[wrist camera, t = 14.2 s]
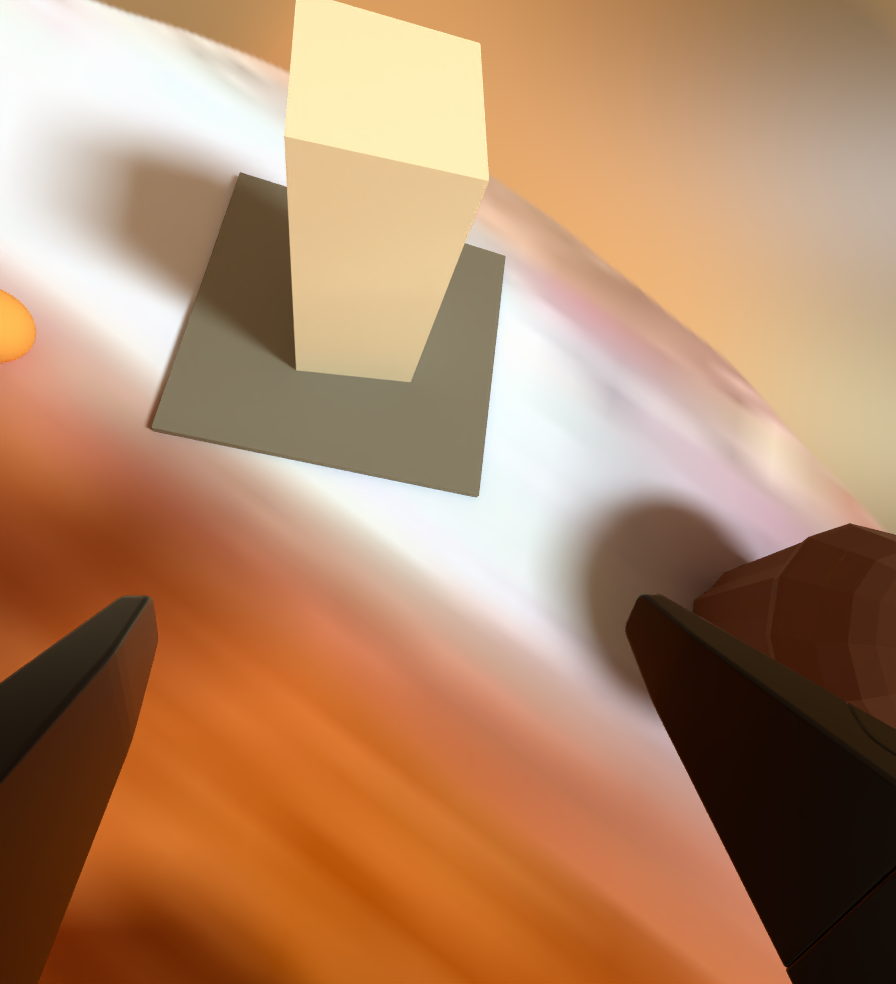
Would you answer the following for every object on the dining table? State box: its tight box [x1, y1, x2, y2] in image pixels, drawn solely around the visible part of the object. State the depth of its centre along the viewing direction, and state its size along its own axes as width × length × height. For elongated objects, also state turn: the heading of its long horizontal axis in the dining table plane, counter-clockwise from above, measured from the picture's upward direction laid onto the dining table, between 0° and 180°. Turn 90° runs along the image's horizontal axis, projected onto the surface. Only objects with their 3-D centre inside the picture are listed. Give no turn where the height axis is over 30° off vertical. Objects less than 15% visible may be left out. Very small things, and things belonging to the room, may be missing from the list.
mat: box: [151, 172, 505, 497], centre depth 26 cm, size 15×15×1 cm
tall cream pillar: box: [284, 0, 489, 382], centre depth 20 cm, size 6×6×12 cm
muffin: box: [693, 524, 896, 729], centre depth 22 cm, size 12×11×10 cm
